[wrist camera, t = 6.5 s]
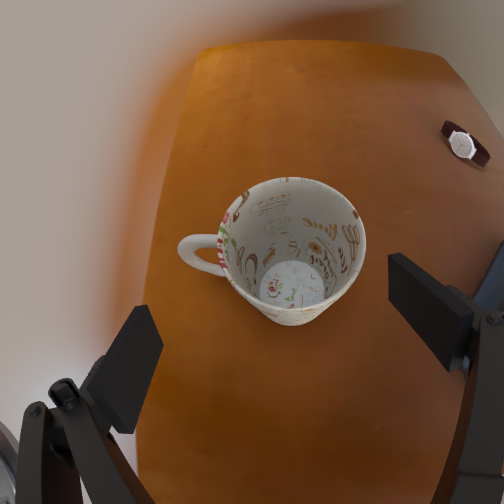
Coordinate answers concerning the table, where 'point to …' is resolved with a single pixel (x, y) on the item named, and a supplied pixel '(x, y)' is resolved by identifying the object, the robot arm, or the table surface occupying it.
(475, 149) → the watch
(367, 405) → the table surface
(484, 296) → the shelf
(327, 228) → the mug
